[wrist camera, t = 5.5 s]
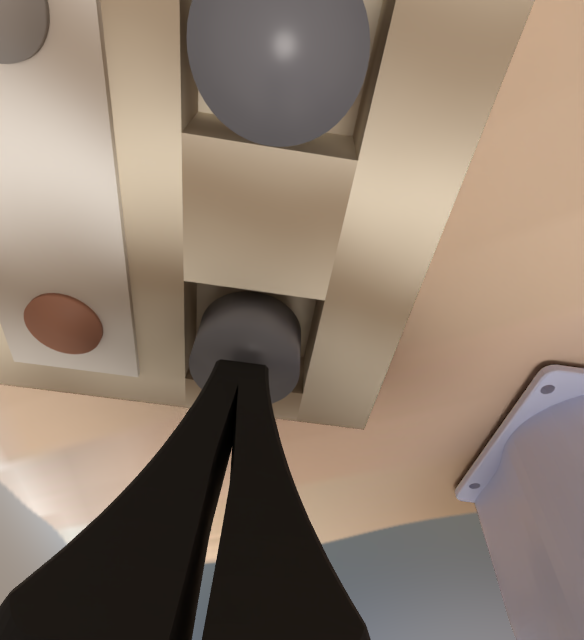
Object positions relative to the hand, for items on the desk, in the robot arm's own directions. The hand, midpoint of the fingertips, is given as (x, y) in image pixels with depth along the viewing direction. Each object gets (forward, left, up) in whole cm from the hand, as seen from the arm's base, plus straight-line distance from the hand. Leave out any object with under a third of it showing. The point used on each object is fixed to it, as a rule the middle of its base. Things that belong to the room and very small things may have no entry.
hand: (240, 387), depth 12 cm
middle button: (+8, 0, -2) cm, 8 cm away
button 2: (0, 0, -2) cm, 2 cm away
